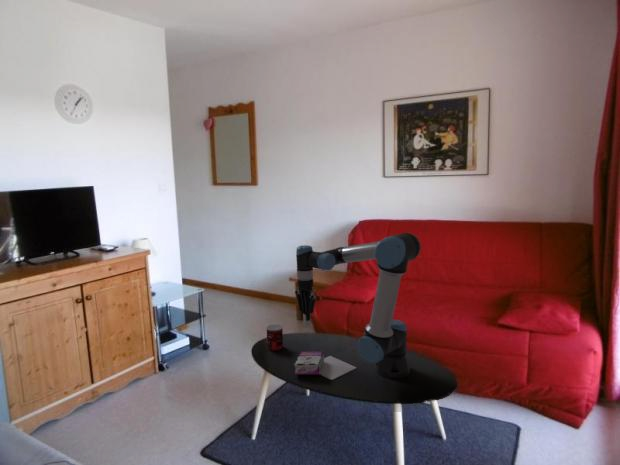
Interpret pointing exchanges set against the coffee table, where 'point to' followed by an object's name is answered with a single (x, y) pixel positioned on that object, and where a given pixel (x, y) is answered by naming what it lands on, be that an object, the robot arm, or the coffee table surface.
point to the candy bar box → (309, 362)
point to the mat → (335, 368)
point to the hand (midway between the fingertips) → (306, 326)
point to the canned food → (274, 337)
